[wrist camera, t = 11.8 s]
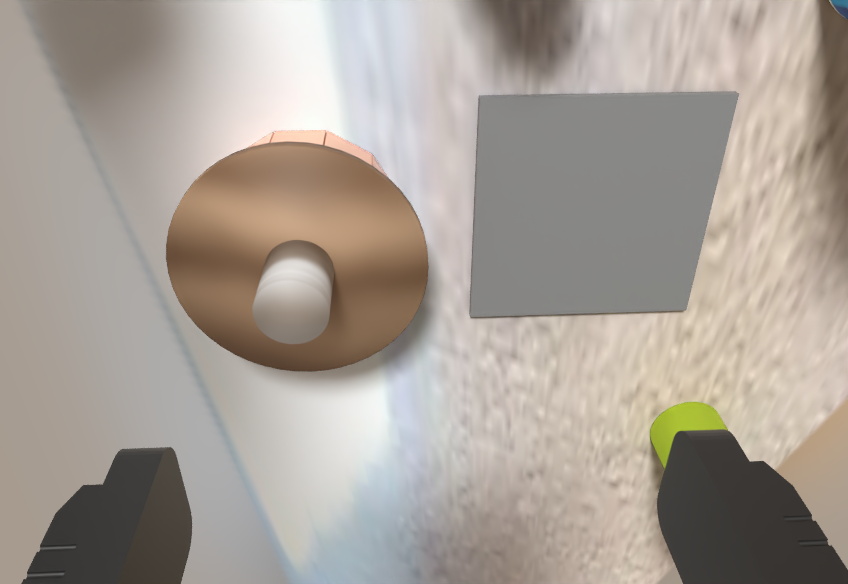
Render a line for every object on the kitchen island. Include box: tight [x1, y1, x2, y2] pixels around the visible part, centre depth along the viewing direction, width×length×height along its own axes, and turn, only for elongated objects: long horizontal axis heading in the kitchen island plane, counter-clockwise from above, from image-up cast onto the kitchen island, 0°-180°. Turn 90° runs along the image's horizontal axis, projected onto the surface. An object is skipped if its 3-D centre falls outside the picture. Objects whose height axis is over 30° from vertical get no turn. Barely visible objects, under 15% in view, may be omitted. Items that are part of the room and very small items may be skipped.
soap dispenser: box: [650, 402, 728, 469], centre depth 49 cm, size 6×7×20 cm
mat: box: [470, 92, 739, 317], centre depth 46 cm, size 16×16×1 cm
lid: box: [166, 141, 428, 371], centre depth 39 cm, size 15×15×5 cm
